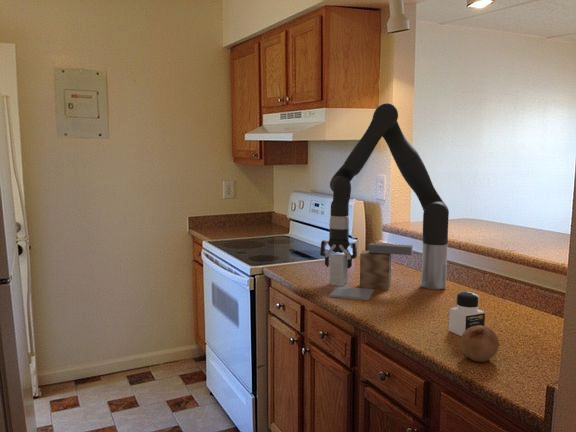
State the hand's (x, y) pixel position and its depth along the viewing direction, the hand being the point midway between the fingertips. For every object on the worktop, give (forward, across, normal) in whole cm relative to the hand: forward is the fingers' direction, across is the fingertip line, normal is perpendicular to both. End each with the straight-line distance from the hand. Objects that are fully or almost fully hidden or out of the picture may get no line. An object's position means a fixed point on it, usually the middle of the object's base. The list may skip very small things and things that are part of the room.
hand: (338, 267), depth 210 cm
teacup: (+7, -15, -14) cm, 22 cm away
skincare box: (+7, 0, 0) cm, 7 cm away
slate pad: (+7, -8, +12) cm, 16 cm away
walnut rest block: (+7, -15, 0) cm, 16 cm away
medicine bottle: (+6, -49, +42) cm, 65 cm away
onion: (+6, -52, +61) cm, 80 cm away
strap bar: (-8, -20, 0) cm, 22 cm away
